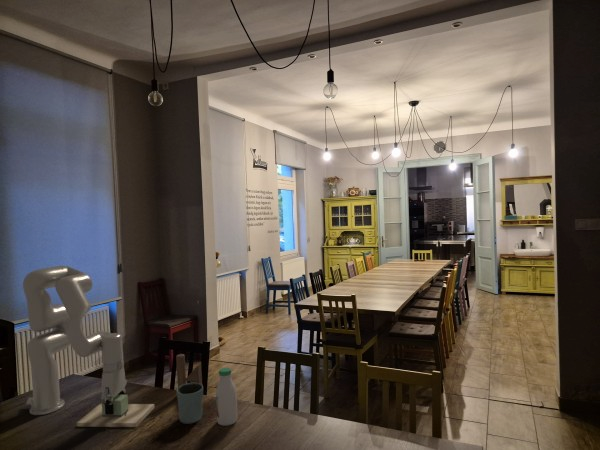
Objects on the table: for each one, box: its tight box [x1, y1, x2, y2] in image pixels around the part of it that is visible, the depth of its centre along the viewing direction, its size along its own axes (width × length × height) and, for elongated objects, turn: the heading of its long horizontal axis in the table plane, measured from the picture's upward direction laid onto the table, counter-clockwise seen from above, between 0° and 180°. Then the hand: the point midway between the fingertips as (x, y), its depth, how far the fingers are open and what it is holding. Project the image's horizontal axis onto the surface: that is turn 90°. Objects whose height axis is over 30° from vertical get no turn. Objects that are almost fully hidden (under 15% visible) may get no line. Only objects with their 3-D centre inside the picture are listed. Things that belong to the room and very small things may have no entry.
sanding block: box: [101, 394, 129, 417], centre depth 161 cm, size 8×5×6 cm, turn 84°
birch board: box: [76, 403, 155, 428], centre depth 162 cm, size 24×15×2 cm, turn 84°
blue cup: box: [176, 382, 204, 425], centre depth 158 cm, size 10×10×12 cm
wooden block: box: [175, 353, 203, 393], centre depth 177 cm, size 4×11×18 cm, turn 81°
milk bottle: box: [215, 367, 239, 427], centre depth 154 cm, size 8×8×20 cm
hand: (115, 408), depth 161 cm, fingers open, 8 cm apart
